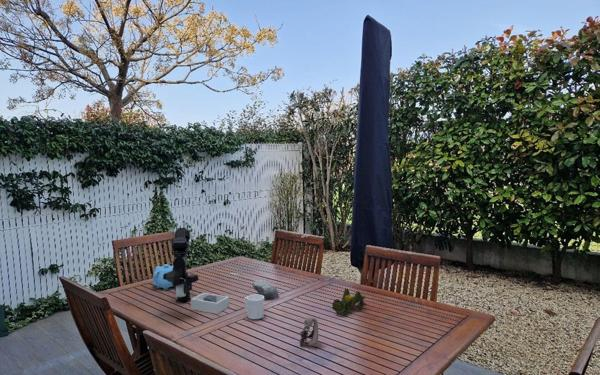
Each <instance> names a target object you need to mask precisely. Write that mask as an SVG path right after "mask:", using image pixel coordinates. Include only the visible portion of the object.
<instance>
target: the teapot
mask: <svg viewBox="0 0 600 375" xmlns="http://www.w3.org/2000/svg"><path fill="white" fill-rule="evenodd" d="M172 270H173V265H169V264H167V263H166V264H163V266H158V265H155V266H154V271H153V275H152V283H153V285H154V286H155V288H156V289H160V288H163V289H162V290H163V291H167V290H169V288H170V287H172V288H174V287H173V285H172V283H171V282H169V281H167V280H165V279H163V275H164V274H165V273H167V272H171V271H172Z"/></svg>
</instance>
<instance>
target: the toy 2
mask: <svg viewBox="0 0 600 375" xmlns="http://www.w3.org/2000/svg"><path fill="white" fill-rule="evenodd" d="M364 299H366V296H363V295H362V294H361V292H360V291H356V292H355V294H354V295H351V293H350V290H349V288H345V289H344V291H343V294H342V298H341V300H340V299H338V298H335V299H334V300H333V302H332V307H331V309H332V310H334V312H335V313H337V312H338V313H341V312H343V311H344V313H343V315H344V314H345V316H348V314H349V311H350V309H351V308H354V307H355V306H356V304H357V303H359V305H358V307H357V308H359V309H358V310H360V309H362V310H363V308H364V305H365V301H364Z"/></svg>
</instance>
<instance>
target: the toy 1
mask: <svg viewBox="0 0 600 375" xmlns="http://www.w3.org/2000/svg"><path fill="white" fill-rule="evenodd" d="M318 323H319V322H318V319H317V318H315V317H314V314H313V315H312V318H311V317H310V316H306V317H305V318H304V320H303V324H304V328H303V330H302V331H300V332H299V334H300V341H299V344H300V345H299V347H303V345H304V344H306V343H307V341H308V339H311V340H310V342H309V343H308V344H307V345H308V346H311V347H312V348H315V346H316V345H317V344H318V342H319V341H318V340H319V324H318ZM312 325H313V328H312V331H311V333H309V331H310V329H311V326H312Z"/></svg>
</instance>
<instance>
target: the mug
mask: <svg viewBox="0 0 600 375" xmlns="http://www.w3.org/2000/svg"><path fill="white" fill-rule="evenodd" d="M243 301H244V302H243V303H244V305H245V308H246V310H247V319H248V320H251V321H259V320H262V319H264V312H265V310H264V309H265V306H264V305H265V304H264V303H265V298H264V296H263V295H258V293H257V294H250V295H247V296H245V297H244V299H243Z"/></svg>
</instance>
